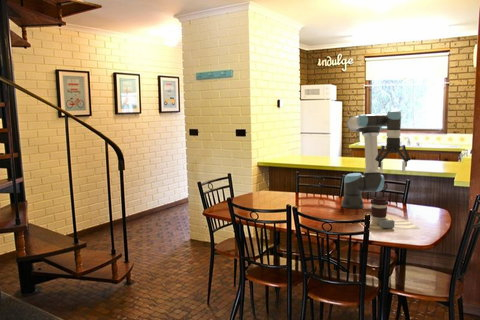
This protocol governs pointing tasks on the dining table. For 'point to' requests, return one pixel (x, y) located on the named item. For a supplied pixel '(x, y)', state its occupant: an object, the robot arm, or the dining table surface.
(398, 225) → the subfloor panel
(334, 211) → the dining table surface
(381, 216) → the coffee cup
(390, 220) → the block
